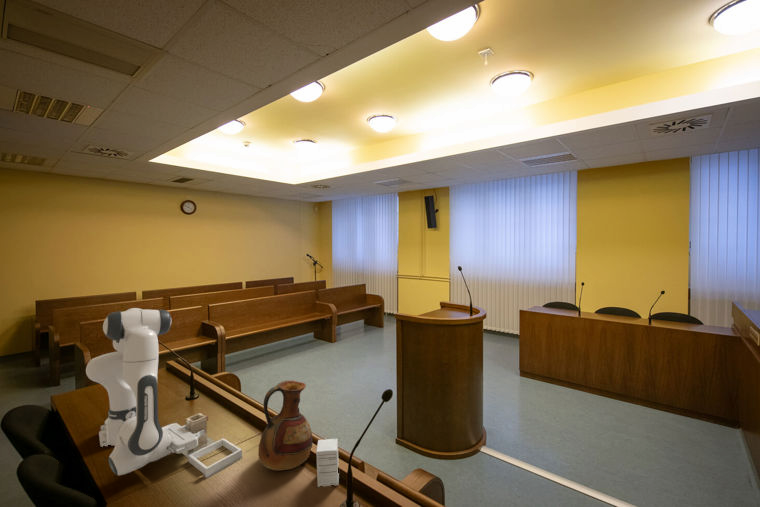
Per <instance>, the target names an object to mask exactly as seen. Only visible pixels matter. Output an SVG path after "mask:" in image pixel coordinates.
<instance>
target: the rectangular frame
mask: <svg viewBox="0 0 760 507" xmlns="http://www.w3.org/2000/svg"><path fill="white" fill-rule="evenodd" d="M222 447H224V448H226V449H227V450H229V451H230V452H232V453H231V454H228V455H227V456H225V457H223V458H221V459H219V460H218V461H216V462H214V463H212V464H211V465H209V466H207V465H206V464H204V463H203V462H201V461H200V460H199V458H201V457H202V458H203V457H204V456H205V455H207V454H209V453H212V452H213V451H215V450H217V449H219V448H222ZM240 458H242V459H243V449H242V448H240V447H239V446H237V445H236V444H234V443H232V442H230V441H228V440H227V439H226V438H224V437H223V438H220V439H219V440H217V441H216V442H215V443H213V444H211V445H209V446H207V447H204V448H202V449H200V450H198V451H196V452H194V453H192V454H190V455H188V457H187V459H188V463H190V464H191V465H192V466H193V467H195V468H196V469H197V470H199V471H200V472H201V473H202V474H201V475H202V476H203V477H204V478H205V479H208V478H210V477H212V476H214V475H215V474H217V473H219V472H221V471H222V470H224V469H226V468H228V467H229V466H231V465H233V464H235V463H236V462H235V461H237V460H238V461H240V460H241V459H240ZM239 459H240V460H239ZM238 461H237V462H238ZM234 462H235V463H234ZM232 463H233V464H232ZM227 466H228V467H227ZM225 467H226V468H225Z"/></svg>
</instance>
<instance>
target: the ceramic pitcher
mask: <svg viewBox="0 0 760 507" xmlns="http://www.w3.org/2000/svg"><path fill="white" fill-rule="evenodd" d="M306 386H307V384H306V383H305V382H300V381H297V380H284V381H280V383H277V384H276V385H275V386H273V387H272V388H270V389H269V390H268V391H267V392H266V394H265V397H264V399H263V412H264V415H265V419H266V422H267V423H266V424H267V425H266V427H265V429H264V430H263V432H262V434H261V437H260V440H259V445H258V460H259V462H260V463H261V465H262V466H264V467H265V468H266V469H269V470H272V471H285V470H286V471H287V470H291V469H294V468H296V467H298V466H300V465H301V464H303V463H304V462H306V461H307V460H308V459H309V457H310V456H311V454H310V450H311V448H313V433H312V429H311V426H310V423H309V421H308V420H307V419H306V417H305V416H304V415H303V414H302V413H300V407H299V404H300V402H301V393H302V391H303V390H304V389H306ZM276 392H281V394H282V397H283V400H282V407H281V409H280V412H279V413H278V414H276V415H275V416H273V417H271V416H270V414H269V410H268V406H269V405H268V404H269V401H270V398H271V396H272V395H273V394H275V393H276ZM311 451H312V450H311ZM309 455H310V456H309Z"/></svg>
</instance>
